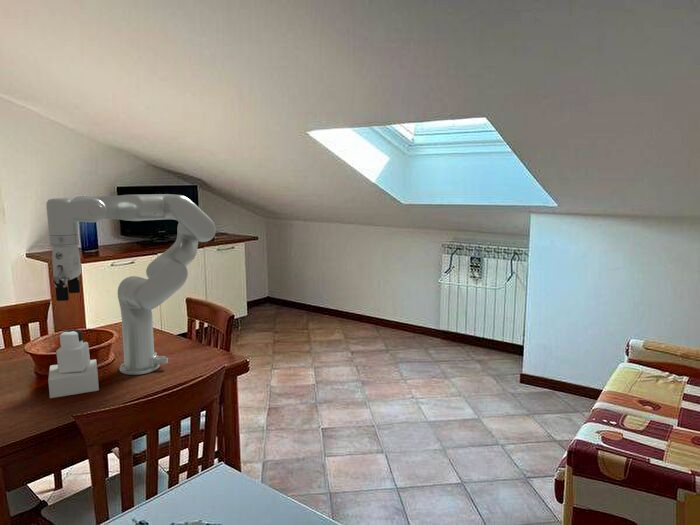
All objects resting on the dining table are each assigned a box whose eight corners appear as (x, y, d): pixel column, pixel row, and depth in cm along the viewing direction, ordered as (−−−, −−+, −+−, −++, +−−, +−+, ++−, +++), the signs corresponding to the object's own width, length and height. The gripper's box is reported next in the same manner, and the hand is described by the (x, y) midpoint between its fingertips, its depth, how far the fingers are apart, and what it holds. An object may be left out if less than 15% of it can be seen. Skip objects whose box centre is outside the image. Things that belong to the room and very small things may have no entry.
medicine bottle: (66, 365, 162) (61, 328, 160) (90, 363, 164) (86, 326, 162) (58, 373, 155) (53, 335, 154) (83, 371, 157) (79, 333, 155)
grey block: (97, 376, 169) (96, 359, 168) (99, 391, 158) (97, 373, 157) (51, 383, 163) (50, 365, 162) (49, 399, 152) (48, 380, 151)
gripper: (67, 244, 146) (72, 303, 148) (87, 236, 162) (91, 289, 165) (38, 244, 144) (43, 304, 147) (61, 236, 161) (65, 290, 164)
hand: (68, 296), depth 156 cm, fingers open, 9 cm apart
